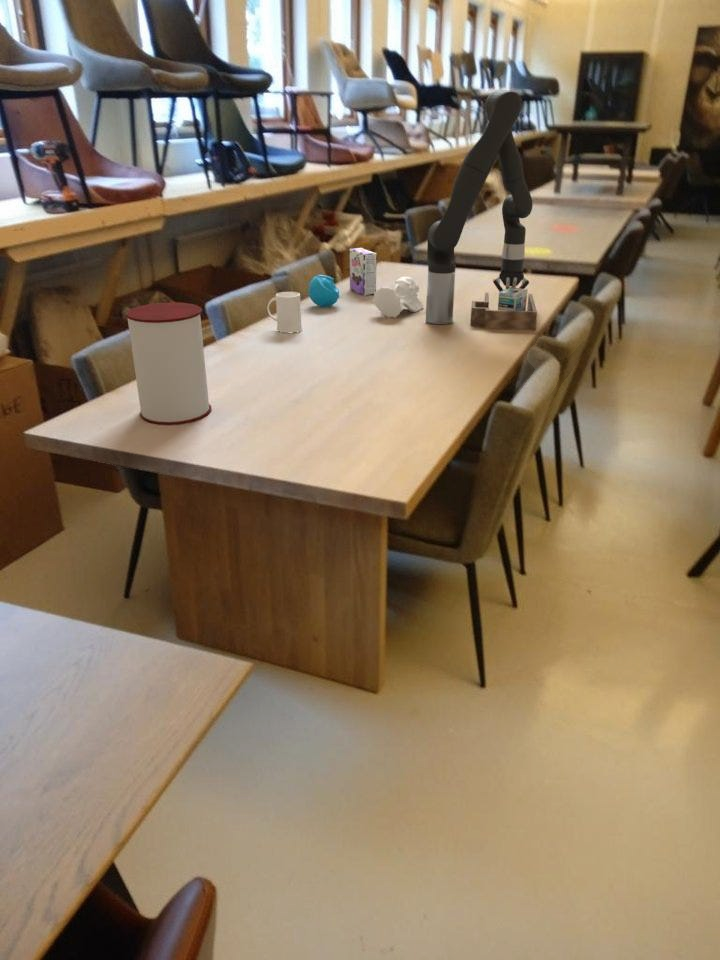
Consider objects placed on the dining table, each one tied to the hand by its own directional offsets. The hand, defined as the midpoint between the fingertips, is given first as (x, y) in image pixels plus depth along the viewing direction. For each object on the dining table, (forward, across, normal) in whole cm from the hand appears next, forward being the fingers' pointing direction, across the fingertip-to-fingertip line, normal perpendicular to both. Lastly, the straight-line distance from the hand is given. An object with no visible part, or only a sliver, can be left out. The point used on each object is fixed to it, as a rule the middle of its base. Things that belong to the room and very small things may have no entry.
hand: (508, 306), depth 266 cm
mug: (+3, -75, -27) cm, 80 cm away
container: (+3, -85, -105) cm, 135 cm away
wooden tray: (+4, -2, -4) cm, 6 cm away
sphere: (+4, -68, +7) cm, 68 cm away
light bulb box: (+4, +1, -7) cm, 8 cm away
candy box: (+4, -57, +32) cm, 65 cm away
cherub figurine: (+4, -40, +2) cm, 40 cm away
